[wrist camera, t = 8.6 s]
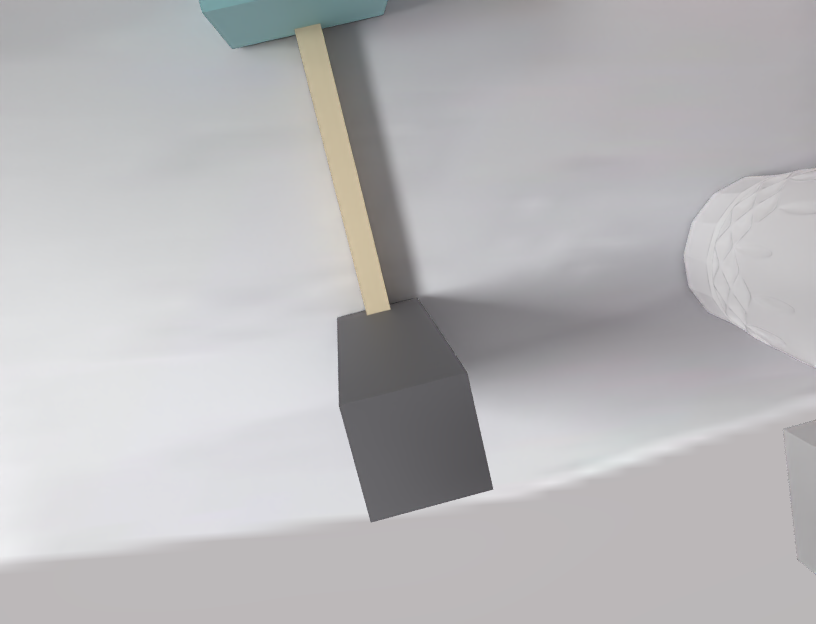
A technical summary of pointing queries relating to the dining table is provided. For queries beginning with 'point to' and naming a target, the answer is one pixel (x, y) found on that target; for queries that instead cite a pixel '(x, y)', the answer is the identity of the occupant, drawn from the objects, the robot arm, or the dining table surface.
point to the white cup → (760, 259)
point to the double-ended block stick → (375, 304)
